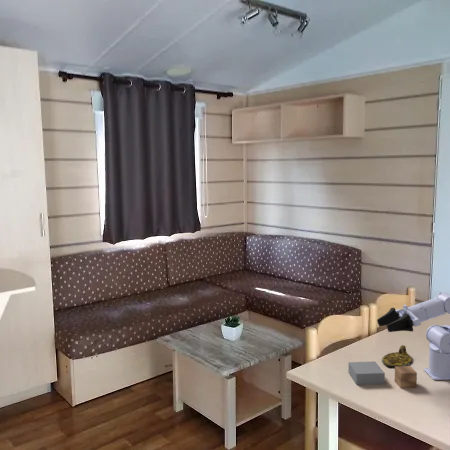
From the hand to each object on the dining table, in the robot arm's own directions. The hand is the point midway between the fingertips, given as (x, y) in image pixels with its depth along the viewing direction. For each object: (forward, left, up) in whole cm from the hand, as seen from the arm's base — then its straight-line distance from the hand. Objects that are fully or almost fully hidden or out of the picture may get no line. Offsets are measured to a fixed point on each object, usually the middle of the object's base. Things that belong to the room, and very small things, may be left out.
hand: (382, 325), depth 152 cm
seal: (-10, -14, -19) cm, 25 cm away
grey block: (+5, -1, -18) cm, 19 cm away
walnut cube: (-6, +4, -18) cm, 20 cm away
